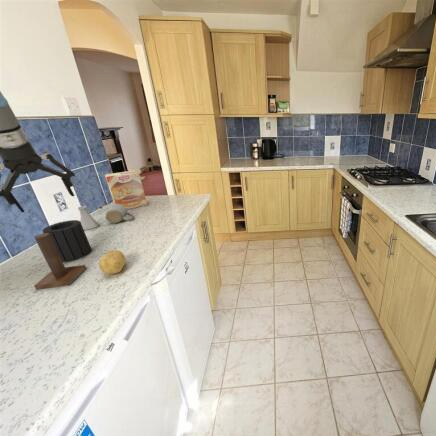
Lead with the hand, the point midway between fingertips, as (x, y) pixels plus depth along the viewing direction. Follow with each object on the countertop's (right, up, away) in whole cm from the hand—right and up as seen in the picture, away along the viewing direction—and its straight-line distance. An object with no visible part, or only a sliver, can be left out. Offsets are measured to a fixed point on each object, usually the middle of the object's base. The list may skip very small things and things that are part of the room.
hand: (48, 202), depth 84 cm
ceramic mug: (0, -7, +37) cm, 37 cm away
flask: (-11, -10, +30) cm, 33 cm away
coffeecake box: (-7, +1, +55) cm, 55 cm away
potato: (+25, -23, -3) cm, 34 cm away
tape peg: (+11, -25, -6) cm, 28 cm away
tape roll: (+3, -19, +7) cm, 21 cm away
